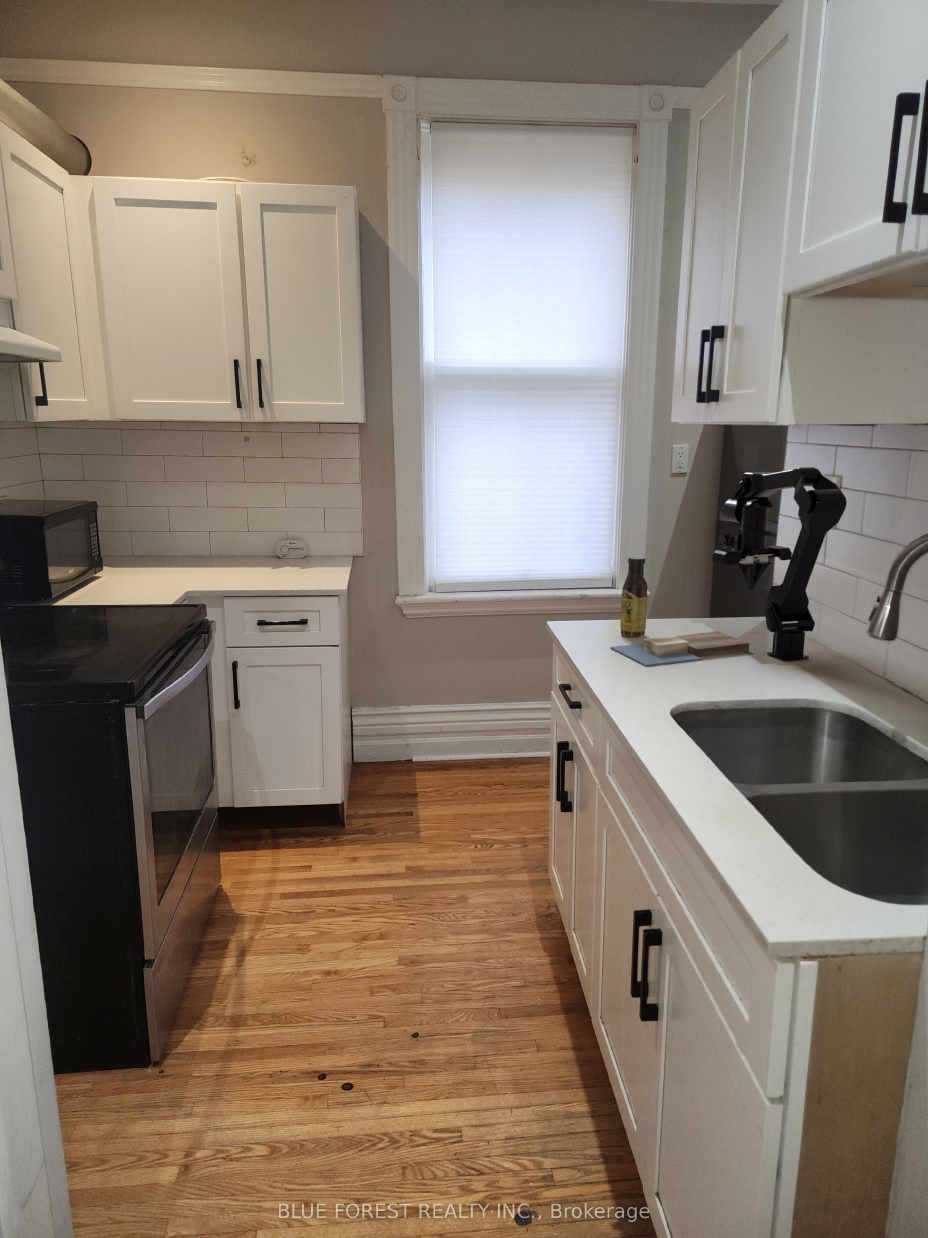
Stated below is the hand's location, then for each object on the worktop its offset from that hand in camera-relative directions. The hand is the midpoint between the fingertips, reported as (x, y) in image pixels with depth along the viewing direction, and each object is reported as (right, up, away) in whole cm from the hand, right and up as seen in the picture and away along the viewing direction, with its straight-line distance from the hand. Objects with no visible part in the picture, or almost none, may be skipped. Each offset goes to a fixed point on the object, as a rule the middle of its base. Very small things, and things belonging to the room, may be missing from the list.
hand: (749, 590), depth 196 cm
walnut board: (-12, -14, -5) cm, 19 cm away
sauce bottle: (-27, -11, +7) cm, 30 cm away
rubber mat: (-25, -15, -10) cm, 31 cm away
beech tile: (-22, -13, -9) cm, 27 cm away
